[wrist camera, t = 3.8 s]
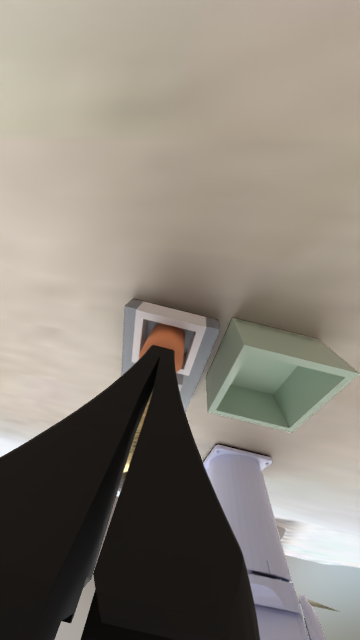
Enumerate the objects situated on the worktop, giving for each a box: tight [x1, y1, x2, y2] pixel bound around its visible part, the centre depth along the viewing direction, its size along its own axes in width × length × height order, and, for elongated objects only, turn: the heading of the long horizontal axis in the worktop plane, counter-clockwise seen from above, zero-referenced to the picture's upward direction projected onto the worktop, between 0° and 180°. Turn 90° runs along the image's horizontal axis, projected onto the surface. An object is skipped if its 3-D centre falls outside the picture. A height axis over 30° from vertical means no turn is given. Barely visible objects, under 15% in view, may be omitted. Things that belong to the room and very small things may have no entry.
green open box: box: [206, 318, 360, 433], centre depth 12 cm, size 7×7×4 cm
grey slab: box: [122, 299, 220, 413], centre depth 13 cm, size 13×7×3 cm, turn 168°
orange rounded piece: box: [139, 323, 186, 373], centre depth 10 cm, size 3×3×2 cm
